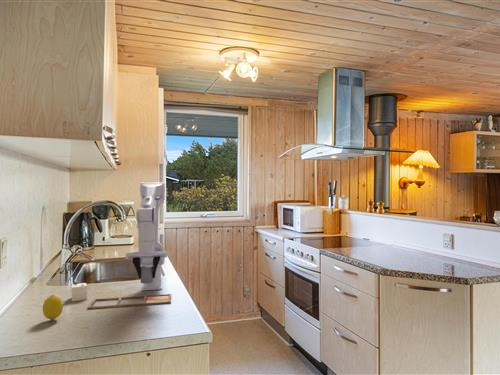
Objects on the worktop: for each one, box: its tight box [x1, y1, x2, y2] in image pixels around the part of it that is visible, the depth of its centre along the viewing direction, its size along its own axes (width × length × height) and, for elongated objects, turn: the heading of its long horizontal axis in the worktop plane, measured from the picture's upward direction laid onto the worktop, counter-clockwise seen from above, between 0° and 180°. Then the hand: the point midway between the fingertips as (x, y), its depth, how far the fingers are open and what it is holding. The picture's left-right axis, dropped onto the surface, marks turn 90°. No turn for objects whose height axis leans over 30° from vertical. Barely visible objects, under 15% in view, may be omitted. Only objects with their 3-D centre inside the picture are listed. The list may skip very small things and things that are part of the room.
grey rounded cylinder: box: [140, 266, 153, 284], centre depth 135 cm, size 4×4×6 cm
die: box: [71, 282, 88, 302], centre depth 139 cm, size 5×5×5 cm
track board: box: [87, 293, 172, 310], centre depth 134 cm, size 10×28×1 cm, turn 101°
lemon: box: [42, 294, 64, 321], centre depth 116 cm, size 6×6×8 cm
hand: (146, 277), depth 135 cm, fingers closed on grey rounded cylinder, 4 cm apart
